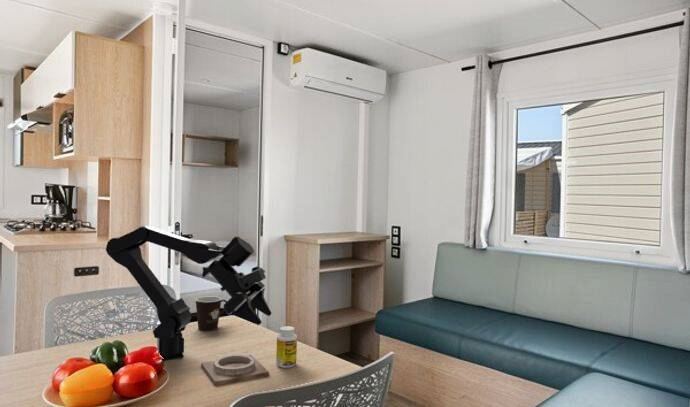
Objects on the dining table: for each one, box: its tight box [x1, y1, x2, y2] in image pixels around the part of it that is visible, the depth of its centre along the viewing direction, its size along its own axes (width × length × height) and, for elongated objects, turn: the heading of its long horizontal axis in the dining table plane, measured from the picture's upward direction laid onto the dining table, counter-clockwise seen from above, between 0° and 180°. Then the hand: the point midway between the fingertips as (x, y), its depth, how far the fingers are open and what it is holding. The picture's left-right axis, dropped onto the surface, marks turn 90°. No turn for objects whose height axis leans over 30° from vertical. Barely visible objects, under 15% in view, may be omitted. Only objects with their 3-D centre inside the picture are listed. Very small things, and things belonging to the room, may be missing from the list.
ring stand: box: [200, 354, 270, 386], centre depth 123 cm, size 14×14×2 cm
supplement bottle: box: [275, 325, 298, 369], centre depth 129 cm, size 6×6×10 cm
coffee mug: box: [195, 296, 228, 332], centre depth 161 cm, size 12×9×10 cm
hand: (265, 319), depth 129 cm, fingers open, 9 cm apart
